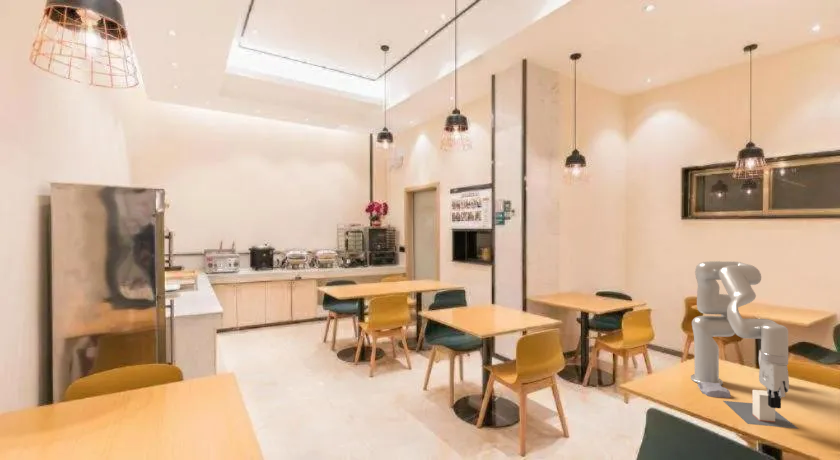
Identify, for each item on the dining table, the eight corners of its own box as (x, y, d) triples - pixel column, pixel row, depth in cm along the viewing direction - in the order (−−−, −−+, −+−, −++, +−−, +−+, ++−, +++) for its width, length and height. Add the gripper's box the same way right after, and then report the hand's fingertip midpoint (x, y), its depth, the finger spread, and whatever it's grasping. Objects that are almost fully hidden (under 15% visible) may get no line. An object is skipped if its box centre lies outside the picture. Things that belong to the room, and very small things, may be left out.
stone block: (708, 403, 174) (733, 400, 172) (705, 392, 174) (731, 389, 173) (695, 392, 186) (718, 389, 184) (692, 382, 186) (716, 379, 184)
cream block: (752, 414, 158) (752, 389, 158) (767, 416, 156) (767, 390, 156) (759, 420, 153) (759, 395, 153) (775, 422, 152) (775, 396, 151)
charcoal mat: (722, 402, 170) (722, 400, 170) (767, 406, 166) (767, 404, 166) (747, 425, 151) (747, 423, 151) (798, 430, 147) (798, 428, 147)
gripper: (751, 350, 156) (751, 397, 156) (774, 364, 141) (774, 415, 142) (774, 352, 154) (774, 399, 154) (800, 365, 139) (800, 417, 140)
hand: (774, 406), depth 148 cm, fingers closed
